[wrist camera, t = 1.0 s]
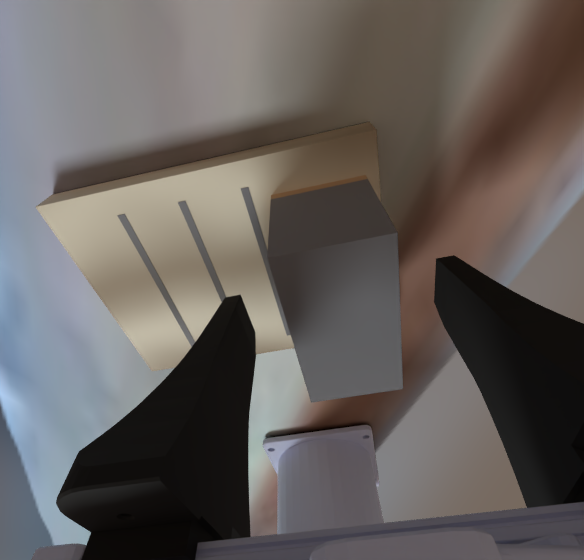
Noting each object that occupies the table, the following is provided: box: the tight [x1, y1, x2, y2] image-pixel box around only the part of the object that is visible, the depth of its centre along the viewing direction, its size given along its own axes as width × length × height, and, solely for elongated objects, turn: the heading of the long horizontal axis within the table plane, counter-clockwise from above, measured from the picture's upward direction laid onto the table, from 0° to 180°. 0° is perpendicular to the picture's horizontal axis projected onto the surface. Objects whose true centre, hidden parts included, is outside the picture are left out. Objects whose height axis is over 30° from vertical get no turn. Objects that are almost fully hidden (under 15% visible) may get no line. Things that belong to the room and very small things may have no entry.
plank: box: [36, 122, 381, 371], centre depth 16 cm, size 10×13×1 cm
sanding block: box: [267, 175, 403, 402], centre depth 13 cm, size 7×4×4 cm, turn 12°
